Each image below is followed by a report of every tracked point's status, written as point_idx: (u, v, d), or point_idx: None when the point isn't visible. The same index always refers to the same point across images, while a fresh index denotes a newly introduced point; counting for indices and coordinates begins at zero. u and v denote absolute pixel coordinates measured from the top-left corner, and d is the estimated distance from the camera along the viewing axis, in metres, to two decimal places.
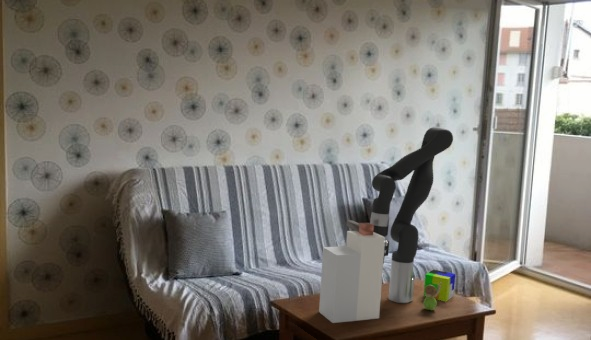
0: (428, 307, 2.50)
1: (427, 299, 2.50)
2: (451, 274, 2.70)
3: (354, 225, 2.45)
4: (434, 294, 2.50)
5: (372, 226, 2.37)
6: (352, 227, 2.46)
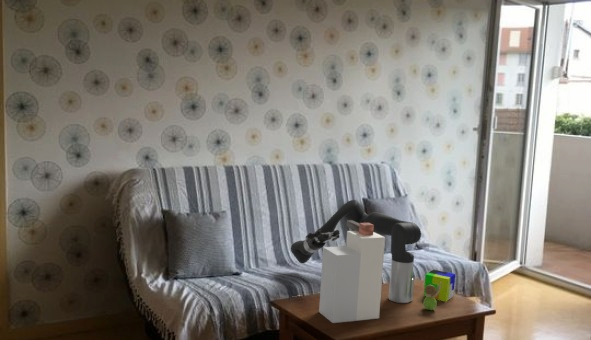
0: (428, 307, 2.50)
1: (427, 299, 2.50)
2: (451, 274, 2.70)
3: (354, 225, 2.45)
4: (434, 294, 2.50)
5: (372, 226, 2.37)
6: (352, 227, 2.46)
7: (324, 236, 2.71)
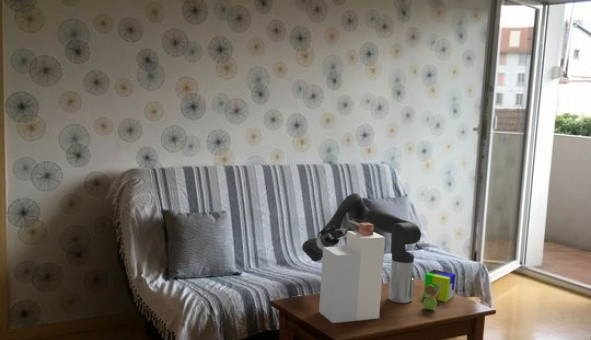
0: (428, 307, 2.50)
1: (427, 299, 2.50)
2: (451, 274, 2.70)
3: (354, 225, 2.45)
4: (434, 294, 2.50)
5: (372, 226, 2.37)
6: (352, 227, 2.46)
7: (338, 232, 2.59)
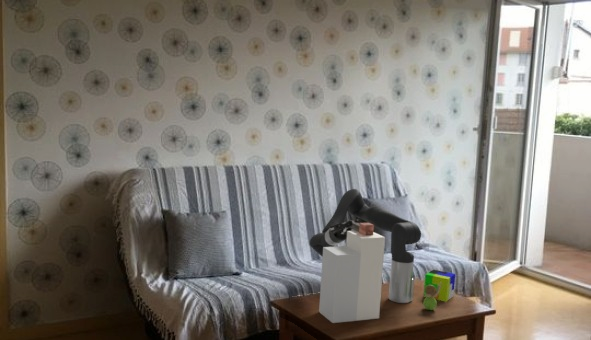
0: (428, 307, 2.50)
1: (427, 299, 2.50)
2: (451, 274, 2.70)
3: (354, 225, 2.45)
4: (434, 294, 2.50)
5: (372, 226, 2.37)
6: (352, 227, 2.46)
7: (347, 227, 2.53)
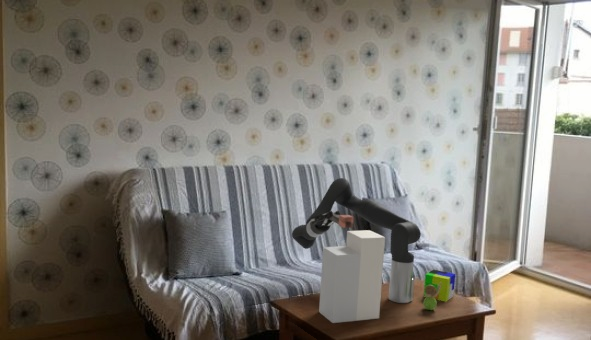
0: (428, 307, 2.50)
1: (427, 299, 2.50)
2: (451, 274, 2.70)
3: (334, 217, 2.41)
4: (434, 294, 2.50)
5: (352, 218, 2.33)
6: (332, 219, 2.43)
7: (328, 219, 2.50)
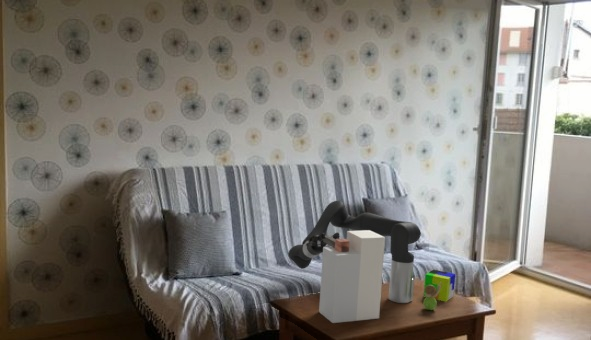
0: (428, 307, 2.50)
1: (427, 299, 2.50)
2: (451, 274, 2.70)
3: (330, 241, 2.42)
4: (434, 294, 2.50)
5: (348, 242, 2.34)
6: (328, 243, 2.43)
7: None
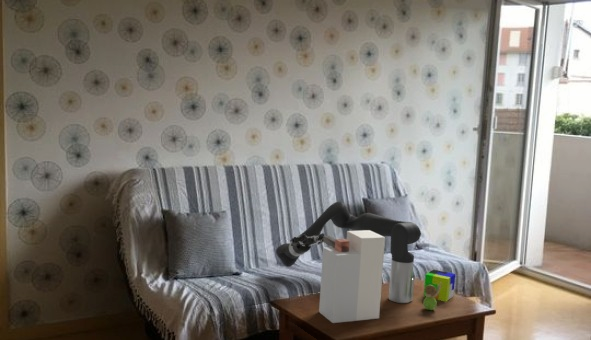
0: (428, 307, 2.50)
1: (427, 299, 2.50)
2: (451, 274, 2.70)
3: (330, 241, 2.42)
4: (434, 294, 2.50)
5: (348, 242, 2.34)
6: (328, 243, 2.43)
7: (309, 240, 2.64)
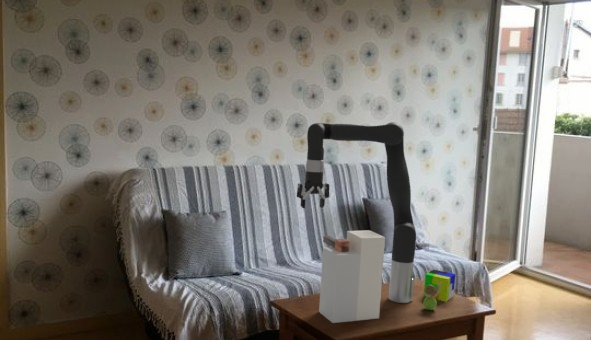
0: (428, 307, 2.50)
1: (427, 299, 2.50)
2: (451, 274, 2.70)
3: (330, 241, 2.42)
4: (434, 294, 2.50)
5: (348, 242, 2.34)
6: (328, 243, 2.43)
7: None
